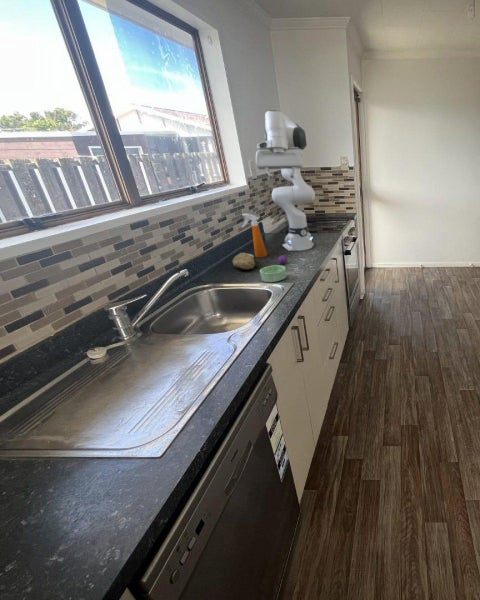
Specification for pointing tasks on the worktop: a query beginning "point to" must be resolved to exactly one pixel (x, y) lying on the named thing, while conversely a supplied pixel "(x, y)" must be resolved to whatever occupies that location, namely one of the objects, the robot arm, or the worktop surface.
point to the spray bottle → (256, 235)
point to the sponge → (244, 261)
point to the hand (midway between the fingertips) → (281, 177)
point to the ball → (282, 259)
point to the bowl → (273, 273)
